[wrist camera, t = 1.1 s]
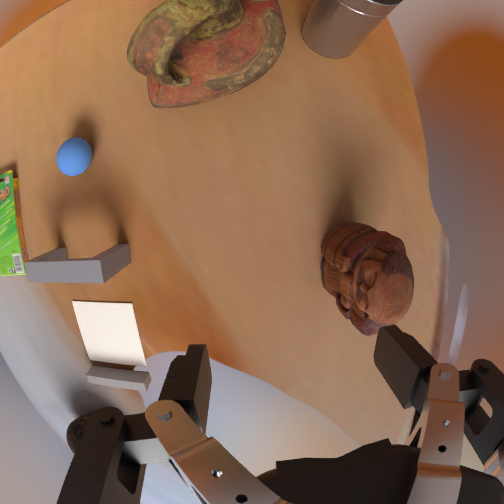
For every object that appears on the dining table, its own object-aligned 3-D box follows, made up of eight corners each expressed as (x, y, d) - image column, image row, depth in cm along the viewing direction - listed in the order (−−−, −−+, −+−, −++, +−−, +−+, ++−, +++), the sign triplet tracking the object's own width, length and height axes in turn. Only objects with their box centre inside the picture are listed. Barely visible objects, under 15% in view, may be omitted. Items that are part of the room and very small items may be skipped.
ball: (70, 143, 35) (49, 140, 29) (99, 136, 35) (79, 131, 29) (70, 178, 36) (49, 179, 30) (99, 173, 36) (79, 172, 30)
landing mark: (72, 300, 41) (72, 301, 41) (132, 303, 41) (131, 303, 41) (90, 359, 44) (90, 359, 44) (147, 365, 44) (146, 366, 44)
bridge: (58, 247, 39) (24, 262, 29) (128, 243, 39) (99, 260, 30) (60, 264, 39) (28, 281, 30) (131, 262, 40) (103, 283, 30)
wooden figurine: (321, 219, 39) (377, 246, 22) (359, 220, 40) (430, 245, 22) (317, 294, 42) (360, 359, 25) (353, 291, 42) (409, 349, 25)
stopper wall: (92, 365, 44) (85, 374, 41) (148, 371, 45) (143, 383, 41) (95, 372, 45) (89, 382, 42) (151, 379, 45) (146, 391, 42)
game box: (9, 271, 40) (-6, 179, 35) (34, 269, 41) (19, 168, 35) (0, 276, 37) (-16, 180, 32) (26, 275, 38) (9, 169, 32)
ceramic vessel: (315, 36, 32) (374, -62, 8) (213, 149, 36) (168, 91, 12) (232, -9, 29) (229, -111, 5) (129, 94, 33) (31, 25, 9)
